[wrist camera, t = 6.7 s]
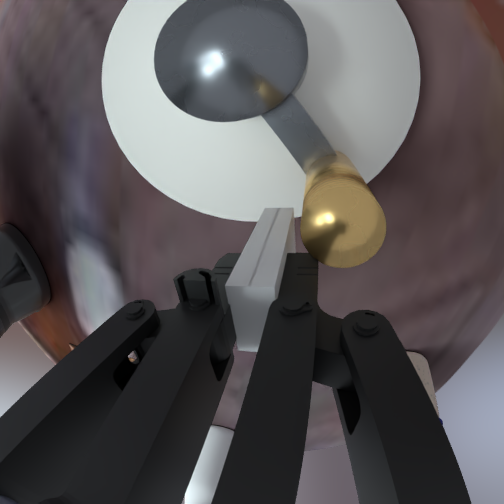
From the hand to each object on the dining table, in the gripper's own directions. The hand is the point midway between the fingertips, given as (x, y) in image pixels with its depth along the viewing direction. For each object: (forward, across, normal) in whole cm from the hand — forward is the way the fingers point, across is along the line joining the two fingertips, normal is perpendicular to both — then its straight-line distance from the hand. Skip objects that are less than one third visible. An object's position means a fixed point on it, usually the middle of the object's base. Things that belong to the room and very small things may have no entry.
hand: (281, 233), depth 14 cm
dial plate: (+6, -2, +10) cm, 12 cm away
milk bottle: (+8, -14, -43) cm, 46 cm away
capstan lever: (+4, 0, +7) cm, 8 cm away
